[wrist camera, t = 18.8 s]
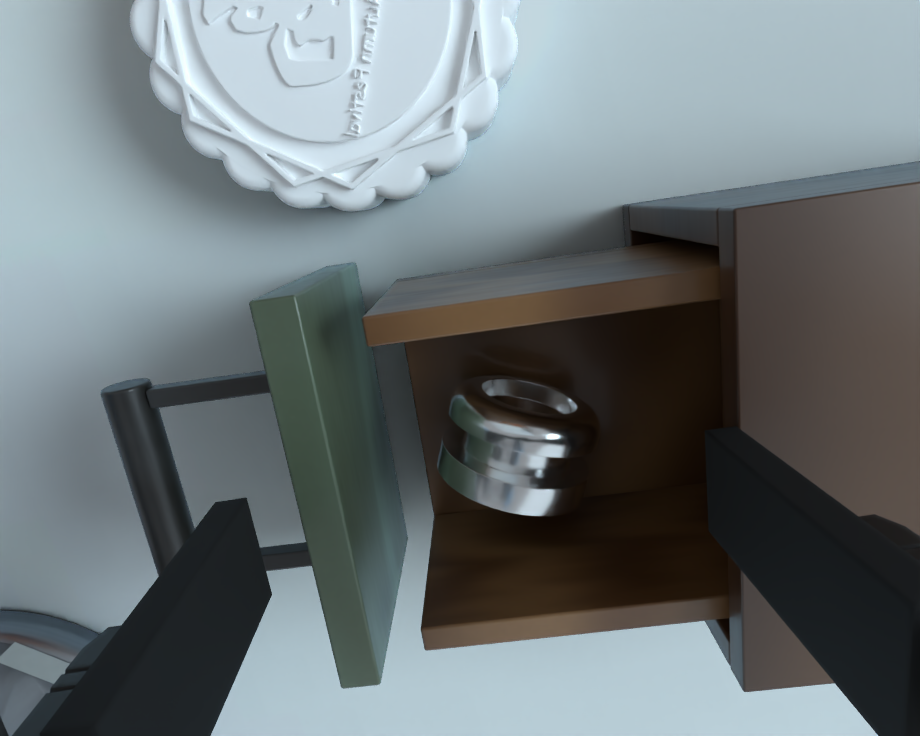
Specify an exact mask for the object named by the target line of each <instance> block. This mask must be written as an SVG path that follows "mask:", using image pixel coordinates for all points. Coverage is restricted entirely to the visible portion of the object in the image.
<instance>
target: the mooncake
mask: <svg viewBox="0 0 920 736" xmlns="http://www.w3.org/2000/svg"><path fill="white" fill-rule="evenodd" d="M520 2H521V0H135V1H134V3H133V5H132V8H131V12H130V27H131V31H132V35H133V37H134V39H135V41H136V43H137V44H138V46H139V47H140V48H141V50H142V51H143V52H144V53H145V54H146V55H148V56H149V57H150V58H152V61H151V65H150V71H149V77H150V83H151V87H152V89H153V92H154V94H155V95H156V97H157V99H158V100H159V101H160V102H161V103H162V104H163V105H164V106H165V107H166V108H167V109H169V110H171V111H172V112H174V113H177V114H179V115H181V124H182V129H183V132H184V135H185V137H186V139H187V141H188V142H189V143H190V145H191V146H192V147H193V148H194V149H195V150H196V151H197V152H199V153H200V154H202V155H204V156H206V157H209V158H213V159H219V160H223V163H224V166H225V169H226V170H227V172H228V174H229V175H230V177H231V178H232V179H233V180H234V181H235V182H236V183H238V184H239V185H240V186H242V187H244V188H246V189H250V190H254V191H274V193H275V194H276V196H277V197H278V198H279V199H280V200H281V201H283V202H284V203H286V204H287V205H289V206H292V207H295V208H300V209H307V208H325V207H329V206H333V207H334V208H336V209H339V210H342V211H347V212H354V211H364V210H370V209H373V208H375V207H377V206H378V205H380V204H381V203H382V202H383V201H384V199H385V198H387V199H400V200H404V199H410V198H413V197H415V196H417V195H419V194H420V193H421V192H422V191H423V190H424V189H425V188H426V186H427V184H428V183H429V180H430V176H431V175H436V176H441V175H446V174H449V173H451V172H453V171H454V170H456V169H457V168H458V167H459V166H460V165H461V163H462V162H463V160H464V158H465V156H466V152H467V141H468V140H473V139H476V138H478V137H480V136H481V135H483V134H484V133H485V132H486V131H487V130H488V129H489V127H490V126H491V124H492V122H493V120H494V116H495V113H496V109H497V106H498V99H499V95H498V91H499V90H501V89H502V88H503V87H504V86H505V84H506V83H507V81H508V80H509V77H510V75H511V72H512V69H513V66H514V63H515V59H516V56H517V51H518V39H517V34H516V31H515V28H514V25H515V21H516V17H517V13H518V10H519V6H520Z"/></svg>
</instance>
